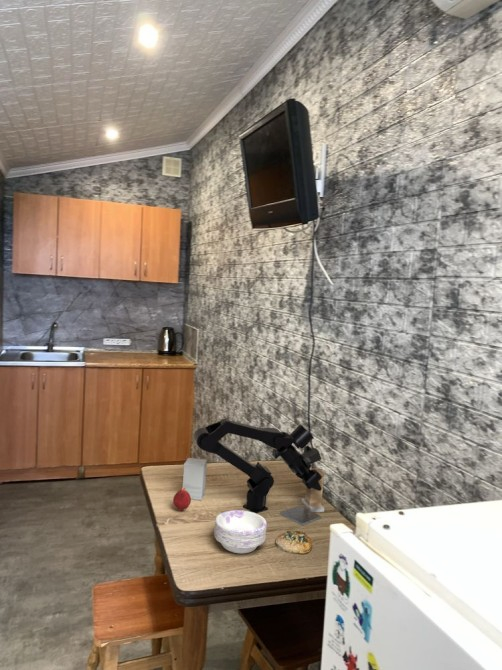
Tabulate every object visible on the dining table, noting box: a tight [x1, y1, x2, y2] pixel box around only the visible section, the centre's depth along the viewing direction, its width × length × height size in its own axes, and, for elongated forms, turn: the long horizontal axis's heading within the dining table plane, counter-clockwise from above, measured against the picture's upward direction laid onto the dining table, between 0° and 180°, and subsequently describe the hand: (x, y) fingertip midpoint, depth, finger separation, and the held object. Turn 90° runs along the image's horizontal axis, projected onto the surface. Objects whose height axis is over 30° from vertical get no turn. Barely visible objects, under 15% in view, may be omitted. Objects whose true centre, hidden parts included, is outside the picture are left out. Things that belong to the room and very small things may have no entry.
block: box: [301, 468, 325, 513], centre depth 179 cm, size 5×9×13 cm, turn 15°
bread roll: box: [275, 529, 313, 555], centre depth 150 cm, size 11×11×5 cm
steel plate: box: [279, 505, 322, 527], centre depth 170 cm, size 10×10×1 cm
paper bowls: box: [213, 509, 268, 554], centre depth 147 cm, size 15×15×8 cm
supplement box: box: [181, 457, 208, 501], centre depth 179 cm, size 7×7×13 cm
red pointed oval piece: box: [172, 486, 192, 512], centre depth 166 cm, size 6×6×8 cm
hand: (318, 487), depth 179 cm, fingers closed on block, 4 cm apart
